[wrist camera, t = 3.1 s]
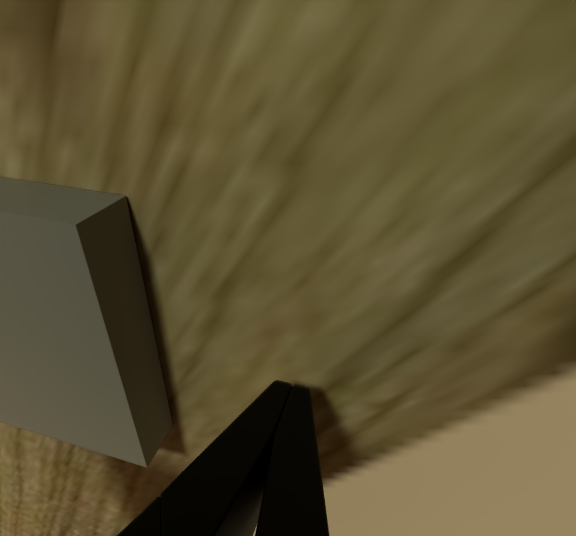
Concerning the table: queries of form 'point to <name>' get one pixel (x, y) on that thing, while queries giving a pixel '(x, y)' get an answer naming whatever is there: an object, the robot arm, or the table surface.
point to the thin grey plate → (77, 323)
